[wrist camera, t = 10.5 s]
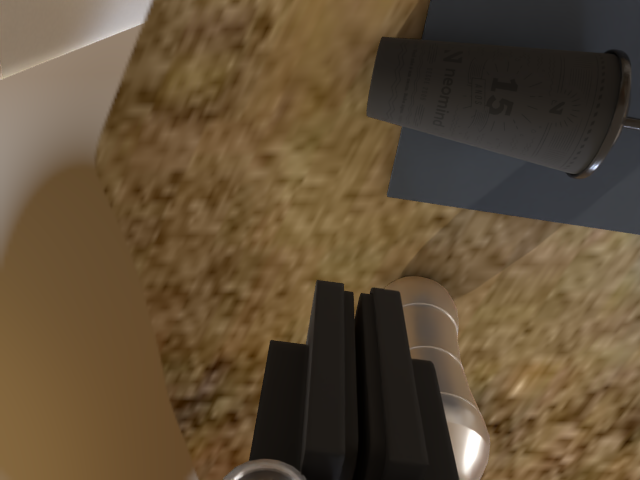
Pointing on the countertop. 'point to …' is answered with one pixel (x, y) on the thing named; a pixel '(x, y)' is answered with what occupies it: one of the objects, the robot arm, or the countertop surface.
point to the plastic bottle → (445, 367)
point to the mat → (515, 174)
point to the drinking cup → (507, 98)
